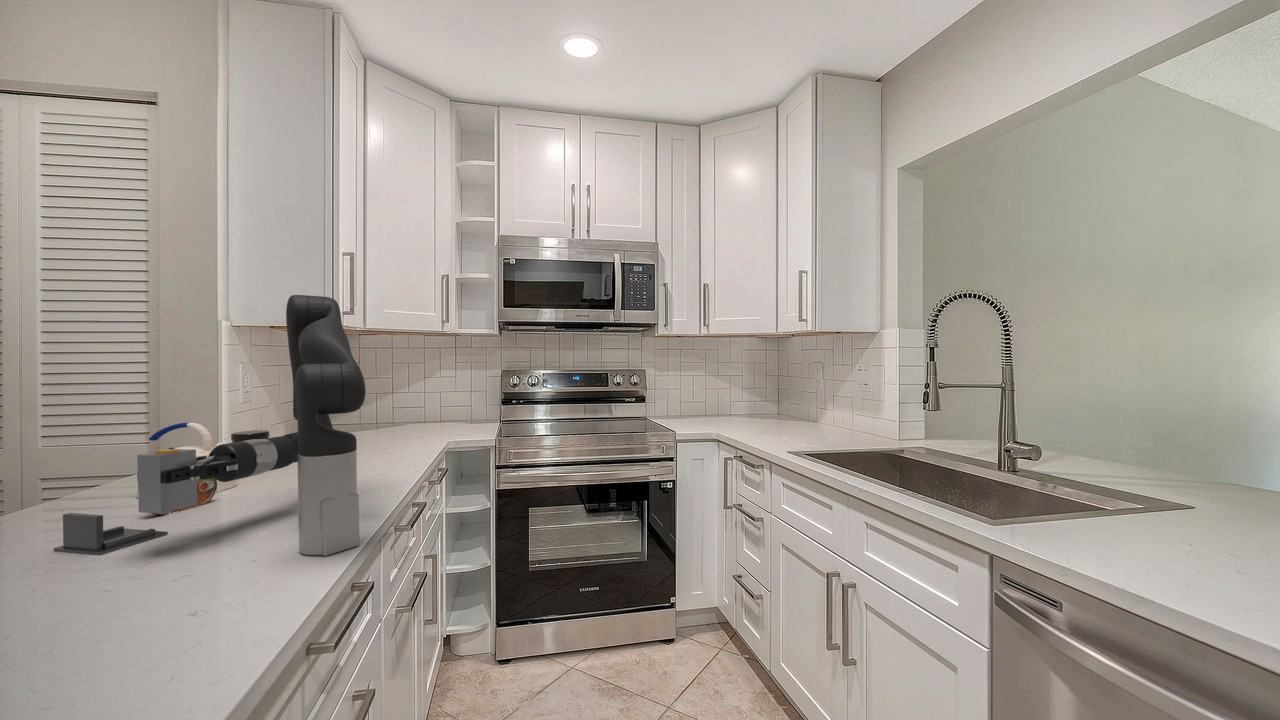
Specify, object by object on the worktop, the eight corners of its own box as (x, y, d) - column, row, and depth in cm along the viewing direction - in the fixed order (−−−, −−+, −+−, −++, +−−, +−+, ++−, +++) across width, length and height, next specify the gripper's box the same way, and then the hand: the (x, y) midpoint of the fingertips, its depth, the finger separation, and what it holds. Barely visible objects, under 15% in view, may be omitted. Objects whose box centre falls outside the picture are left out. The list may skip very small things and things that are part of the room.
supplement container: (280, 467, 167) (279, 429, 167) (252, 475, 156) (252, 434, 156) (249, 467, 168) (249, 429, 168) (220, 474, 157) (219, 434, 157)
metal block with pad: (175, 503, 98) (174, 447, 98) (197, 504, 96) (195, 447, 96) (138, 512, 92) (137, 452, 92) (161, 513, 91) (159, 453, 91)
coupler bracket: (125, 530, 106) (124, 498, 106) (167, 534, 103) (167, 501, 103) (53, 550, 95) (53, 514, 95) (99, 555, 93) (99, 518, 93)
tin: (149, 519, 113) (149, 480, 113) (138, 519, 114) (137, 480, 114) (218, 501, 128) (218, 466, 128) (208, 500, 129) (207, 466, 129)
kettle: (195, 500, 129) (194, 427, 129) (111, 501, 129) (110, 427, 129) (256, 481, 149) (255, 417, 149) (184, 481, 149) (183, 418, 149)
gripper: (215, 440, 110) (119, 455, 93) (272, 441, 107) (183, 456, 90) (216, 476, 110) (120, 497, 93) (273, 478, 107) (184, 500, 90)
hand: (151, 477), depth 92 cm, fingers closed on metal block with pad, 5 cm apart
